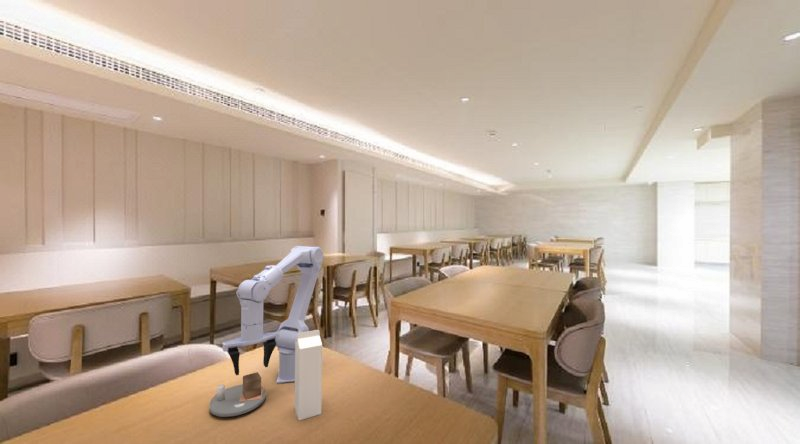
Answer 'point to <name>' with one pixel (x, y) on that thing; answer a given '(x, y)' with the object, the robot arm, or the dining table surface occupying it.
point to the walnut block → (251, 385)
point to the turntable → (233, 401)
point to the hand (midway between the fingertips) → (251, 369)
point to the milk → (308, 374)
